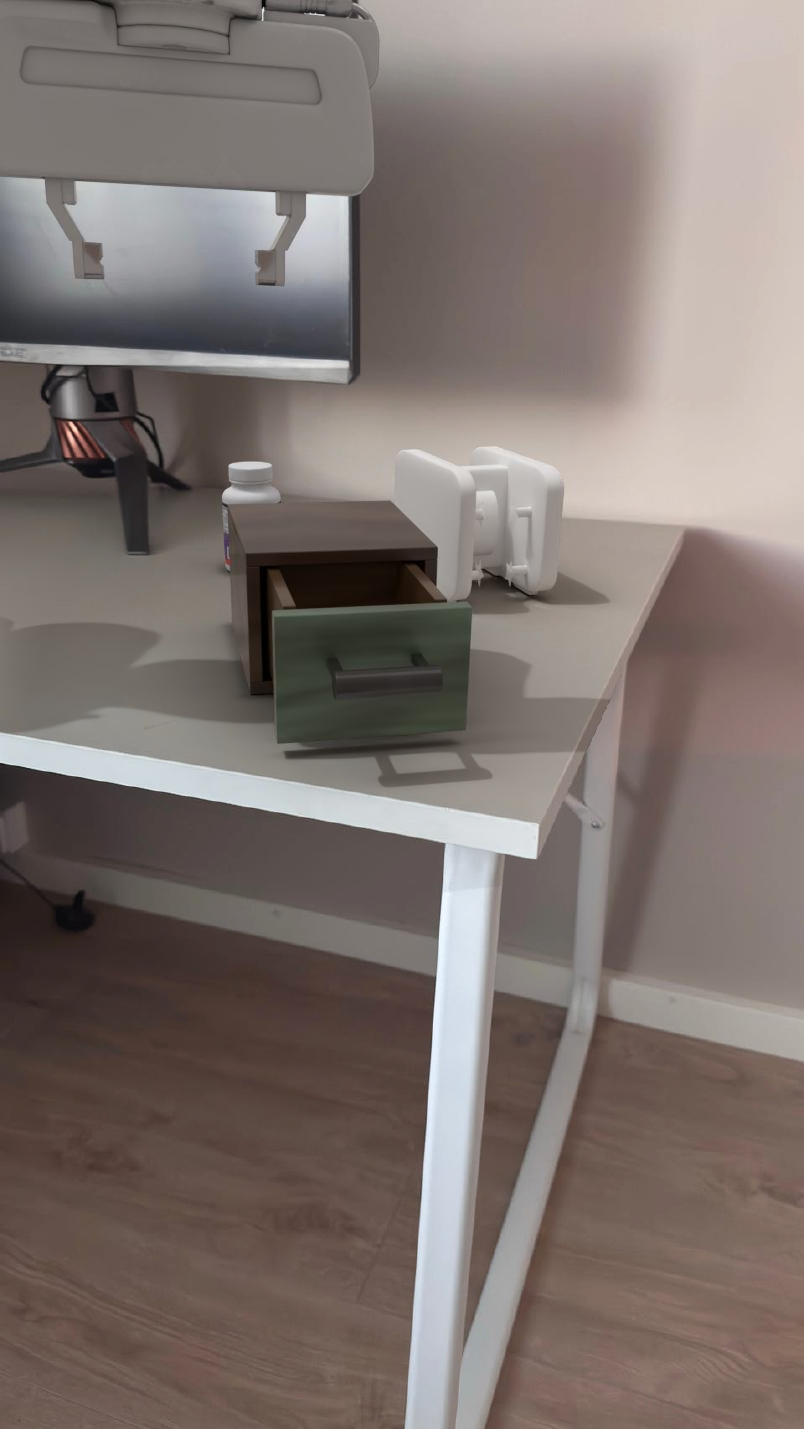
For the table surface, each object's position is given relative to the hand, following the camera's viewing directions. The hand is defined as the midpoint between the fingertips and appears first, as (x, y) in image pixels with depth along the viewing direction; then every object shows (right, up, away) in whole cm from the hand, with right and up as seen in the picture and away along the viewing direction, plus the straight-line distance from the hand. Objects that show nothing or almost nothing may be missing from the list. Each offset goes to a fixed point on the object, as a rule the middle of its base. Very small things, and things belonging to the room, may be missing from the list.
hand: (181, 282), depth 57 cm
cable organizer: (+18, -11, +41) cm, 46 cm away
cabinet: (+6, -18, +23) cm, 30 cm away
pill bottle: (-2, -9, +44) cm, 45 cm away
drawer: (+9, -23, +11) cm, 27 cm away
